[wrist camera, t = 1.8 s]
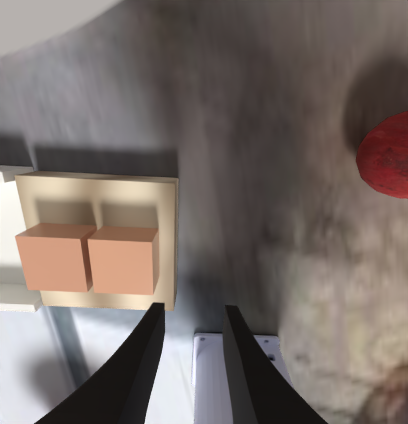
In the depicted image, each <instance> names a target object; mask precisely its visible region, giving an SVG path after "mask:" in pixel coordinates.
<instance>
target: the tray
mask: <svg viewBox="0 0 408 424" xmlns="http://www.w3.org/2000/svg"><path fill="white" fill-rule="evenodd" d="M29 172H34V170H33V167H23V166H4V165H0V311H21V312H36V311H37V310H38V309H39V308H40V307H41V306H42V305H43V302H42V298H41V293H40V291H39V290H28V288H27V284H26V280H25V276H24V272H23V268H22V264H21V259H20V255H19V251H18V247H17V243H16V239H15V236H16V235H18V234H20V233H22V232H24V231H25V230H26V226H25V221H24V217H23V212H22V208H21V203H20V199H19V195H18V190H17V186H16V181H15V177H14V175H19V174H24V173H29Z"/></svg>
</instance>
